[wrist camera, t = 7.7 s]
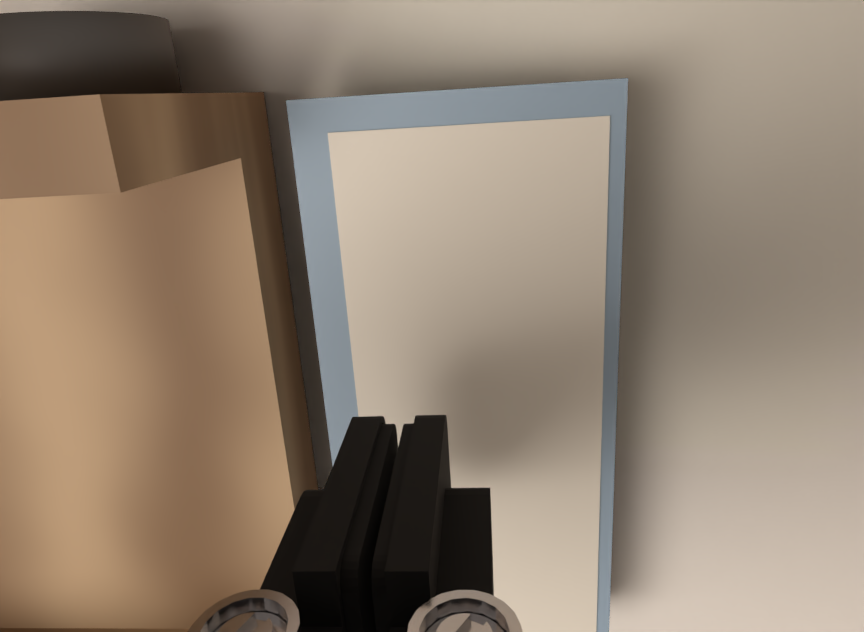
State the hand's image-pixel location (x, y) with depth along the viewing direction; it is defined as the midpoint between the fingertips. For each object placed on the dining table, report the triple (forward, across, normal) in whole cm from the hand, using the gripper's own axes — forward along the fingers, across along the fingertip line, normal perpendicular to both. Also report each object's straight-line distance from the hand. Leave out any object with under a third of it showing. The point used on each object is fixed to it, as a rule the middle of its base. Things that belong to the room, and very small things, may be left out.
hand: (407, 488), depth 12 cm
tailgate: (+3, +2, 0) cm, 3 cm away
